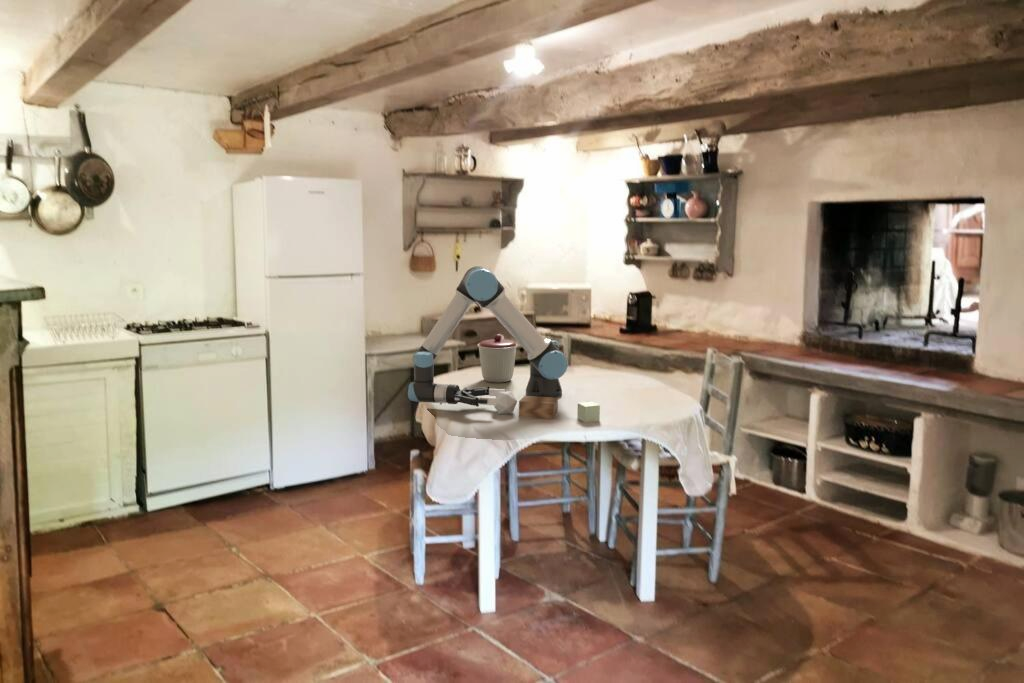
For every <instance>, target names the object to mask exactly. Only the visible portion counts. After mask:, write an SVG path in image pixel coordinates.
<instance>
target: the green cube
mask: <svg viewBox="0 0 1024 683" xmlns="http://www.w3.org/2000/svg"><path fill="white" fill-rule="evenodd" d="M600 408H601V405H600V404H599V403H596V402H594V401H584V402H577V413H576V414H577V416H576V417H577V419H578V420H579V419H580V420H579V421H581V420H582V421H581V422H583V421H584V423H592V422H591V421H594V422H600V420H601V419H600V415H601V412H600V411H601V409H600Z"/></svg>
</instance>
